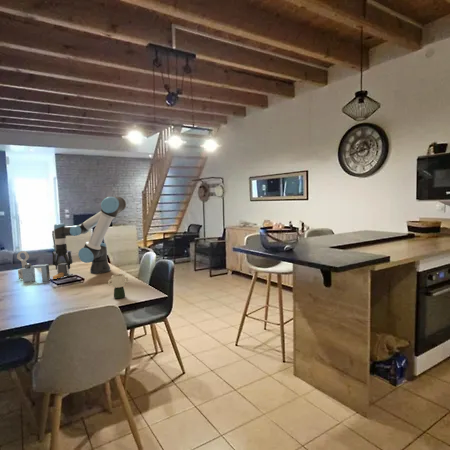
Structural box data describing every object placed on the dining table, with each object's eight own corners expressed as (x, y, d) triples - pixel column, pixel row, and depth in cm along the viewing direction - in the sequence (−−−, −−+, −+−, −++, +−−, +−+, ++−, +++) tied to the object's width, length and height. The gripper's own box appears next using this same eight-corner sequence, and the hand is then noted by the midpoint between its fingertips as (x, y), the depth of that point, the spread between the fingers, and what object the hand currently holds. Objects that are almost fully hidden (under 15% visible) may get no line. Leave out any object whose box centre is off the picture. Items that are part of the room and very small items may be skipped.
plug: (58, 279, 235) (57, 267, 234) (51, 280, 235) (50, 267, 234) (68, 274, 252) (67, 263, 251) (62, 274, 252) (61, 263, 251)
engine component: (27, 278, 246) (36, 275, 256) (25, 251, 245) (34, 249, 255) (14, 278, 248) (23, 275, 257) (11, 252, 246) (21, 250, 256)
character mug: (127, 294, 189) (126, 272, 188) (130, 297, 183) (129, 274, 182) (108, 298, 183) (106, 275, 182) (111, 301, 177) (109, 277, 176)
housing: (50, 279, 238) (48, 262, 237) (47, 281, 234) (45, 263, 233) (26, 281, 237) (24, 263, 236) (23, 282, 233) (21, 264, 232)
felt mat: (72, 274, 254) (72, 273, 254) (64, 278, 239) (64, 278, 239) (59, 274, 253) (59, 274, 253) (50, 279, 239) (50, 279, 238)
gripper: (75, 242, 251) (78, 271, 253) (50, 243, 251) (53, 273, 252) (71, 243, 244) (74, 273, 246) (45, 245, 243) (48, 275, 245)
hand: (63, 273), depth 249 cm, fingers open, 7 cm apart
